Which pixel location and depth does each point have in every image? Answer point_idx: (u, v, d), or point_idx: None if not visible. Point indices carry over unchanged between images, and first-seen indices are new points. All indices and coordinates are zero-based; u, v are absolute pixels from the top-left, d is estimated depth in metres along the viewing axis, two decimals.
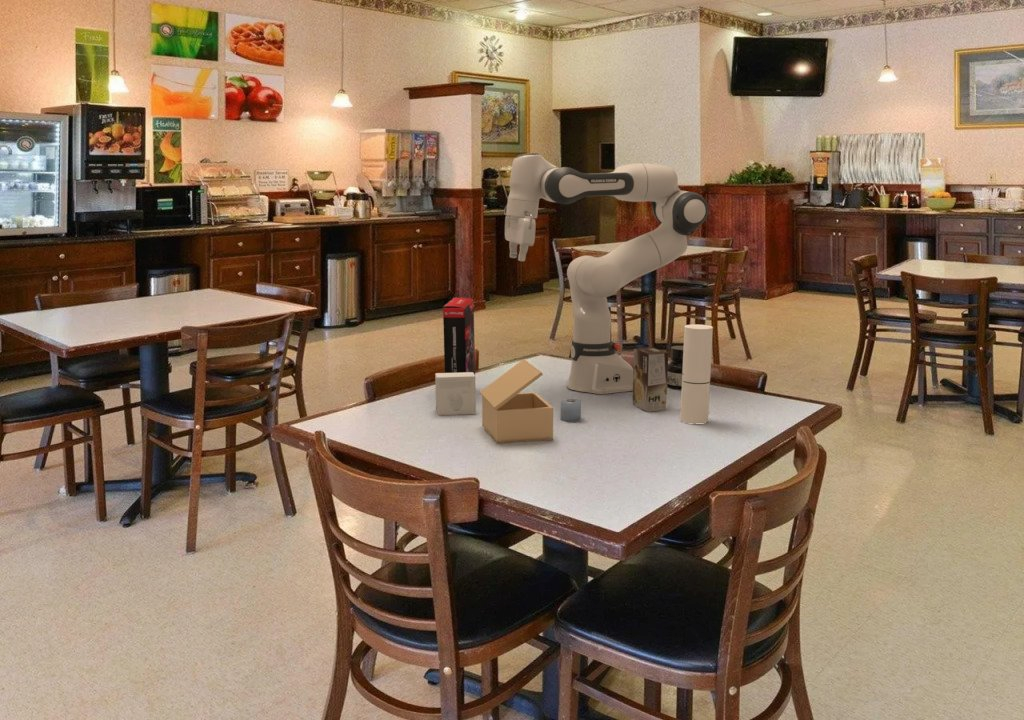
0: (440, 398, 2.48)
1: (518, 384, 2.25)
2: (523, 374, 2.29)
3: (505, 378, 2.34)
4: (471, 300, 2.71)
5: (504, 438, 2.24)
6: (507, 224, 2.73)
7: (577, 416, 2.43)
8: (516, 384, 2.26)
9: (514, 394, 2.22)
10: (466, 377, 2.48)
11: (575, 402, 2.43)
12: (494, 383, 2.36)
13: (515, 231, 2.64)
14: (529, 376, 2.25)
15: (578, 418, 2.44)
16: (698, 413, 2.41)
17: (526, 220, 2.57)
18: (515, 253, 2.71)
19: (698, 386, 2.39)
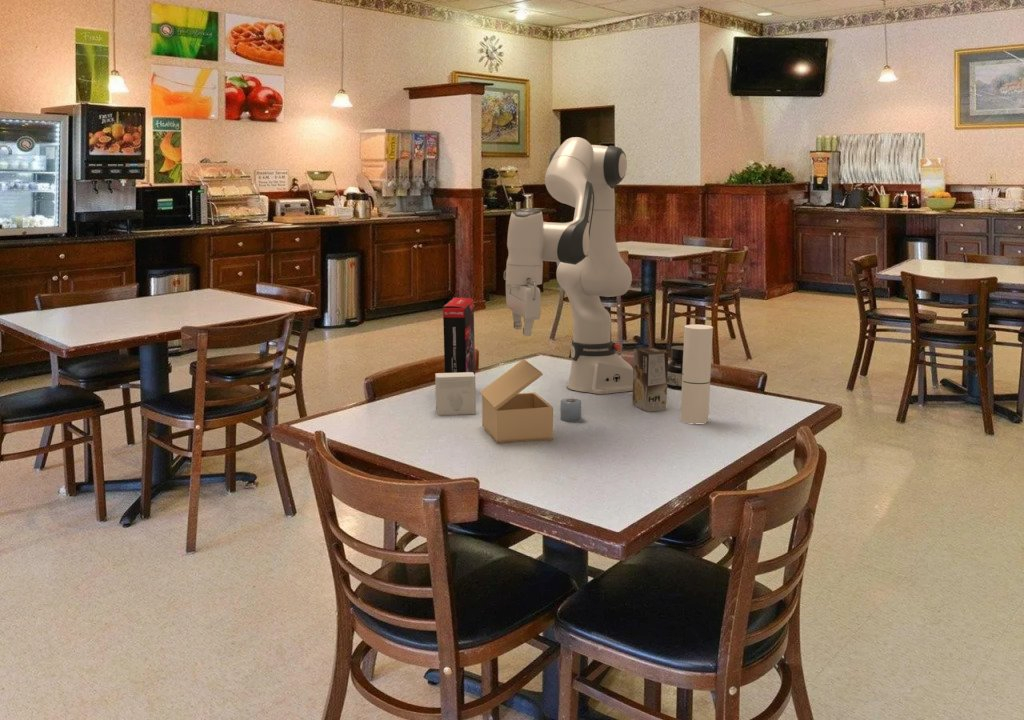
0: (440, 398, 2.48)
1: (518, 384, 2.25)
2: (523, 374, 2.29)
3: (505, 378, 2.34)
4: (471, 300, 2.71)
5: (504, 438, 2.24)
6: (508, 290, 2.35)
7: (577, 416, 2.43)
8: (516, 384, 2.26)
9: (514, 394, 2.22)
10: (466, 377, 2.48)
11: (575, 402, 2.43)
12: (494, 383, 2.36)
13: (517, 301, 2.27)
14: (529, 376, 2.25)
15: (578, 418, 2.44)
16: (698, 413, 2.41)
17: (529, 290, 2.19)
18: (519, 324, 2.34)
19: (698, 386, 2.39)
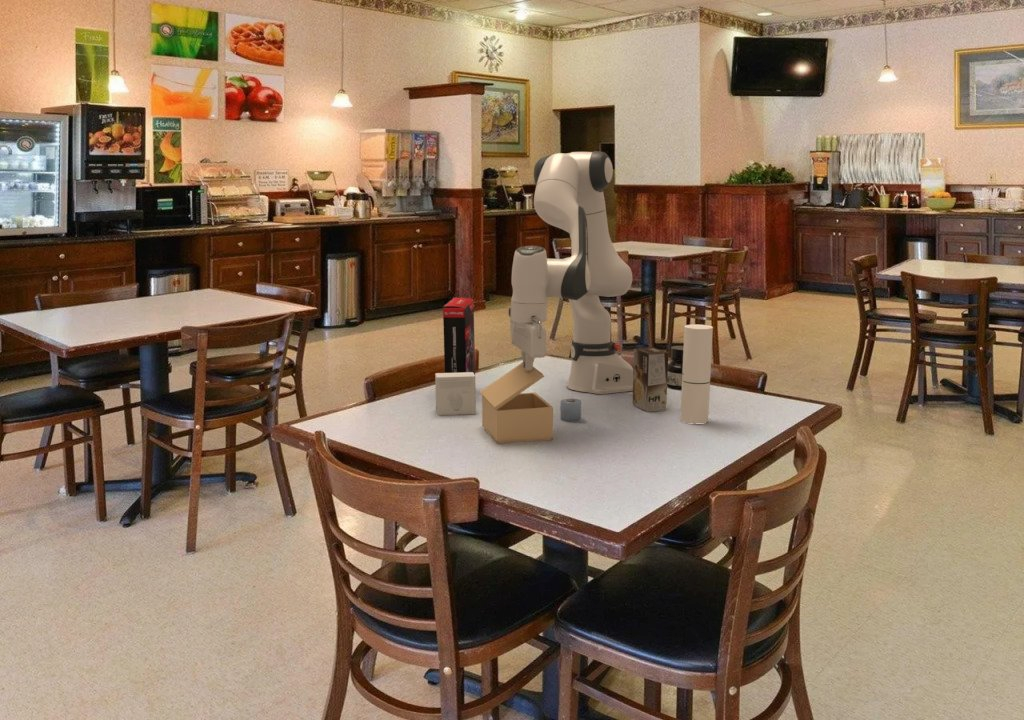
0: (440, 398, 2.48)
1: (519, 385, 2.25)
2: (524, 375, 2.29)
3: (506, 379, 2.34)
4: (471, 300, 2.71)
5: (504, 438, 2.24)
6: (513, 327, 2.35)
7: (577, 416, 2.43)
8: (516, 385, 2.26)
9: (515, 395, 2.22)
10: (466, 377, 2.48)
11: (575, 402, 2.43)
12: (494, 383, 2.36)
13: (523, 338, 2.27)
14: (530, 377, 2.25)
15: (578, 418, 2.44)
16: (698, 413, 2.41)
17: (534, 328, 2.19)
18: None
19: (698, 386, 2.39)
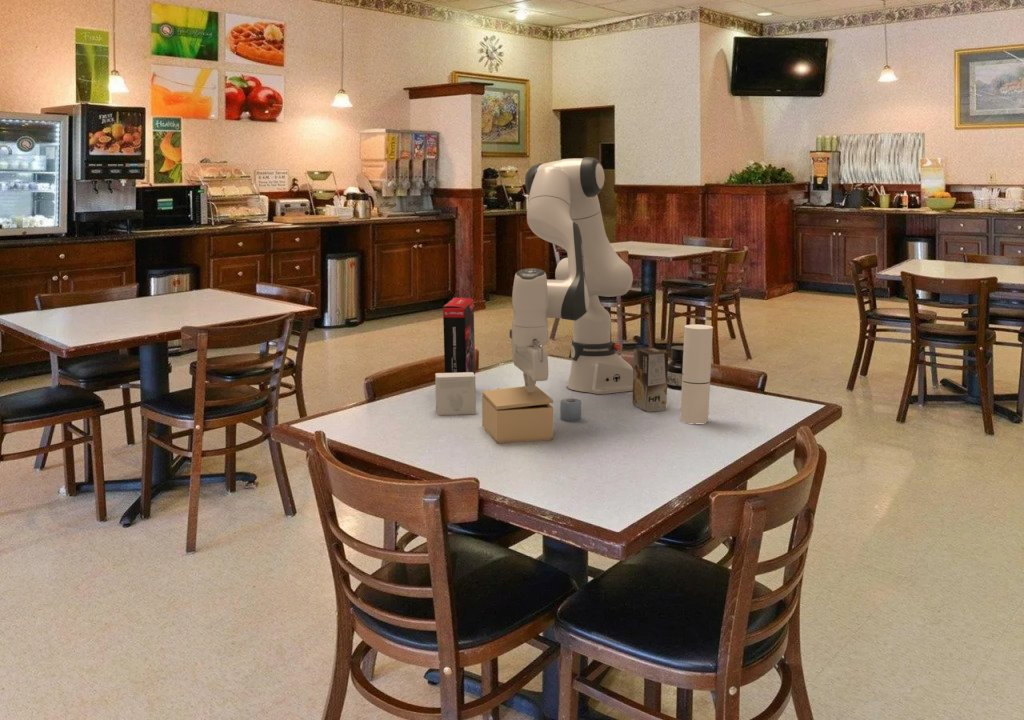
0: (440, 398, 2.48)
1: (526, 400, 2.26)
2: (533, 395, 2.30)
3: (512, 391, 2.35)
4: (471, 300, 2.71)
5: (504, 438, 2.24)
6: (514, 348, 2.37)
7: (577, 416, 2.43)
8: (523, 399, 2.27)
9: (519, 405, 2.23)
10: (466, 377, 2.48)
11: (575, 402, 2.43)
12: (499, 390, 2.36)
13: (524, 361, 2.28)
14: (539, 398, 2.27)
15: (578, 418, 2.44)
16: (698, 413, 2.41)
17: (536, 352, 2.21)
18: None
19: (698, 386, 2.39)
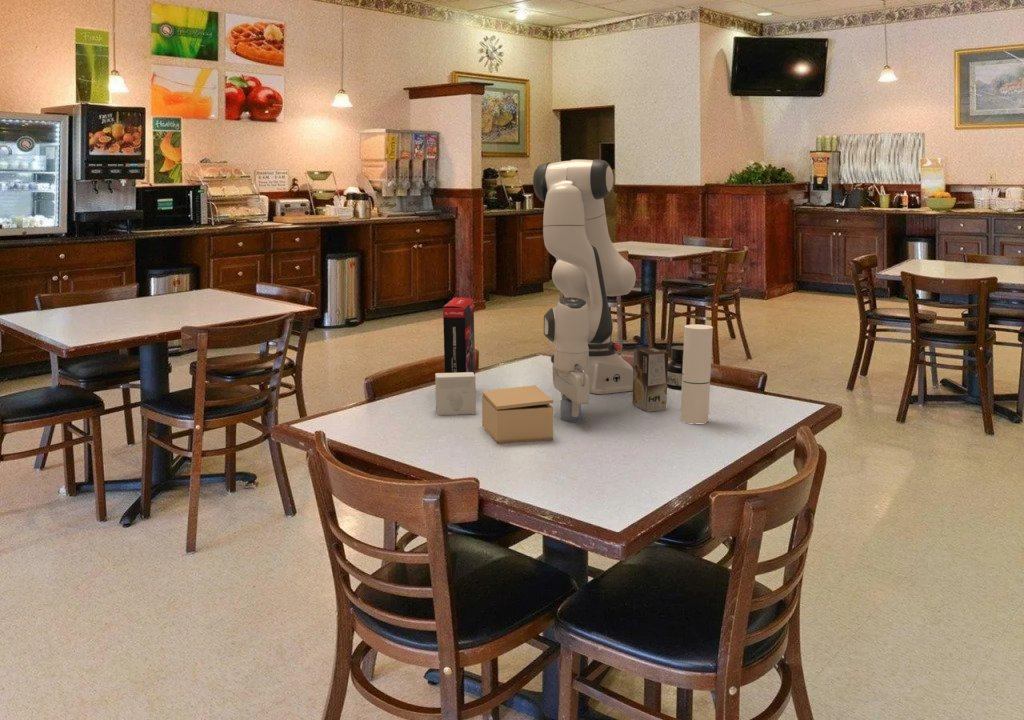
0: (440, 398, 2.48)
1: (526, 400, 2.26)
2: (533, 395, 2.30)
3: (512, 391, 2.35)
4: (471, 300, 2.71)
5: (504, 438, 2.24)
6: (555, 372, 2.50)
7: None
8: (523, 399, 2.27)
9: (519, 405, 2.23)
10: (466, 377, 2.48)
11: None
12: (499, 390, 2.36)
13: (566, 385, 2.42)
14: (539, 398, 2.27)
15: (578, 418, 2.44)
16: (698, 413, 2.41)
17: (578, 377, 2.34)
18: None
19: (698, 386, 2.39)
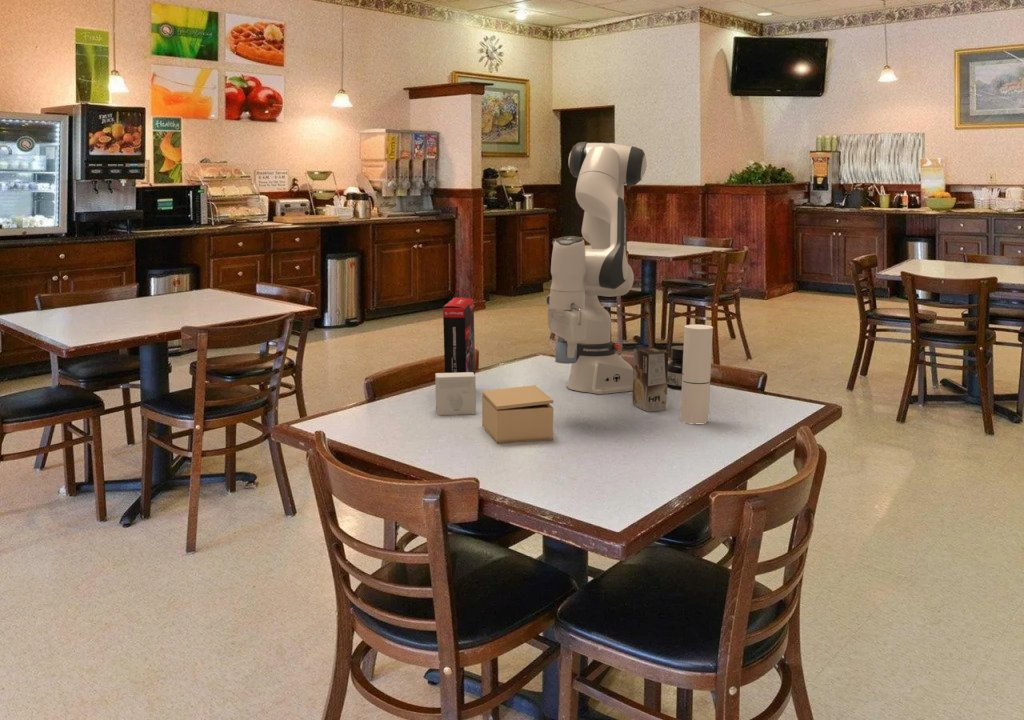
0: (440, 398, 2.48)
1: (526, 400, 2.26)
2: (533, 395, 2.30)
3: (512, 391, 2.35)
4: (471, 300, 2.71)
5: (504, 438, 2.24)
6: (550, 314, 2.45)
7: (572, 358, 2.38)
8: (523, 399, 2.27)
9: (519, 405, 2.23)
10: (466, 377, 2.48)
11: None
12: (499, 390, 2.36)
13: (562, 325, 2.36)
14: (539, 398, 2.27)
15: (573, 360, 2.38)
16: (698, 413, 2.41)
17: (574, 315, 2.29)
18: None
19: (698, 386, 2.39)
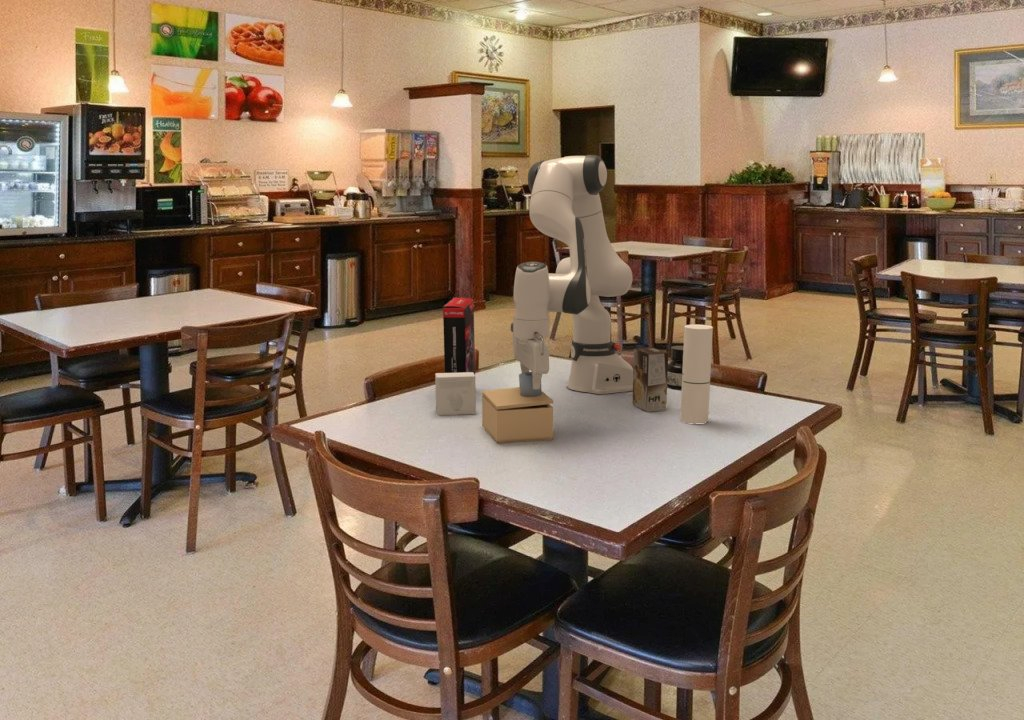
0: (440, 398, 2.48)
1: (526, 400, 2.26)
2: None
3: (513, 391, 2.35)
4: (471, 300, 2.71)
5: (504, 438, 2.24)
6: (515, 342, 2.36)
7: (536, 390, 2.29)
8: (523, 399, 2.27)
9: (519, 405, 2.23)
10: (466, 377, 2.48)
11: None
12: (499, 390, 2.36)
13: (525, 354, 2.28)
14: (539, 398, 2.27)
15: (538, 392, 2.30)
16: (698, 413, 2.41)
17: (537, 345, 2.20)
18: None
19: (698, 386, 2.39)
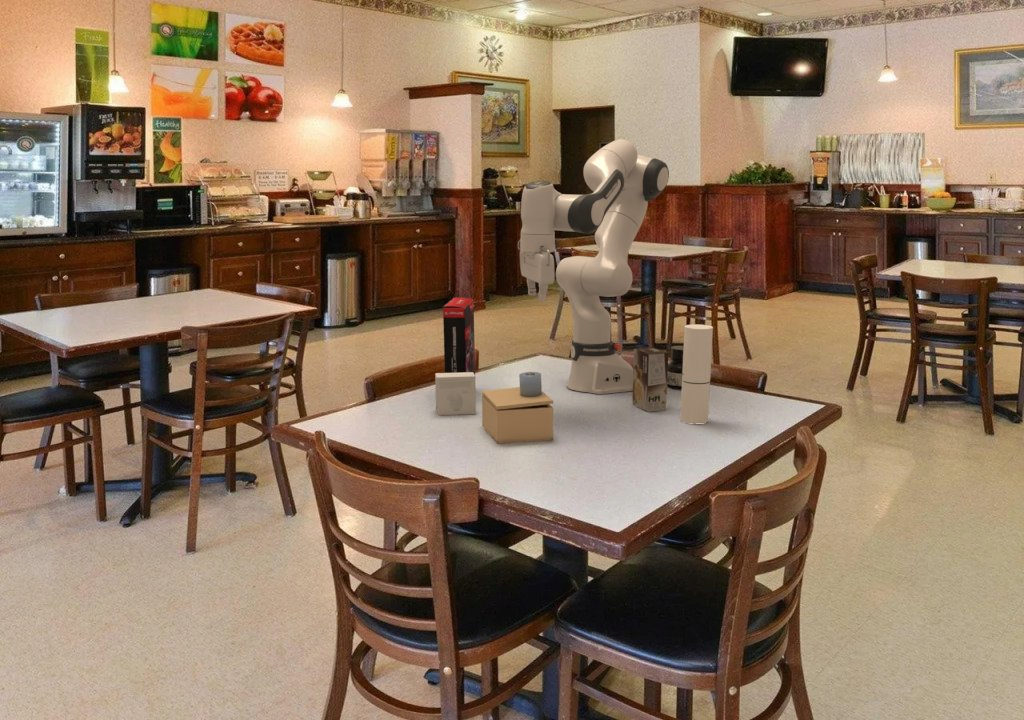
0: (440, 398, 2.48)
1: (526, 400, 2.26)
2: None
3: (513, 391, 2.35)
4: (471, 300, 2.71)
5: (504, 438, 2.24)
6: (522, 259, 2.51)
7: (536, 390, 2.29)
8: (523, 399, 2.27)
9: (519, 405, 2.23)
10: (466, 377, 2.48)
11: (534, 375, 2.29)
12: (499, 390, 2.36)
13: (532, 268, 2.43)
14: (539, 398, 2.27)
15: (538, 393, 2.30)
16: (698, 413, 2.41)
17: (543, 257, 2.35)
18: (534, 290, 2.50)
19: (698, 386, 2.39)
